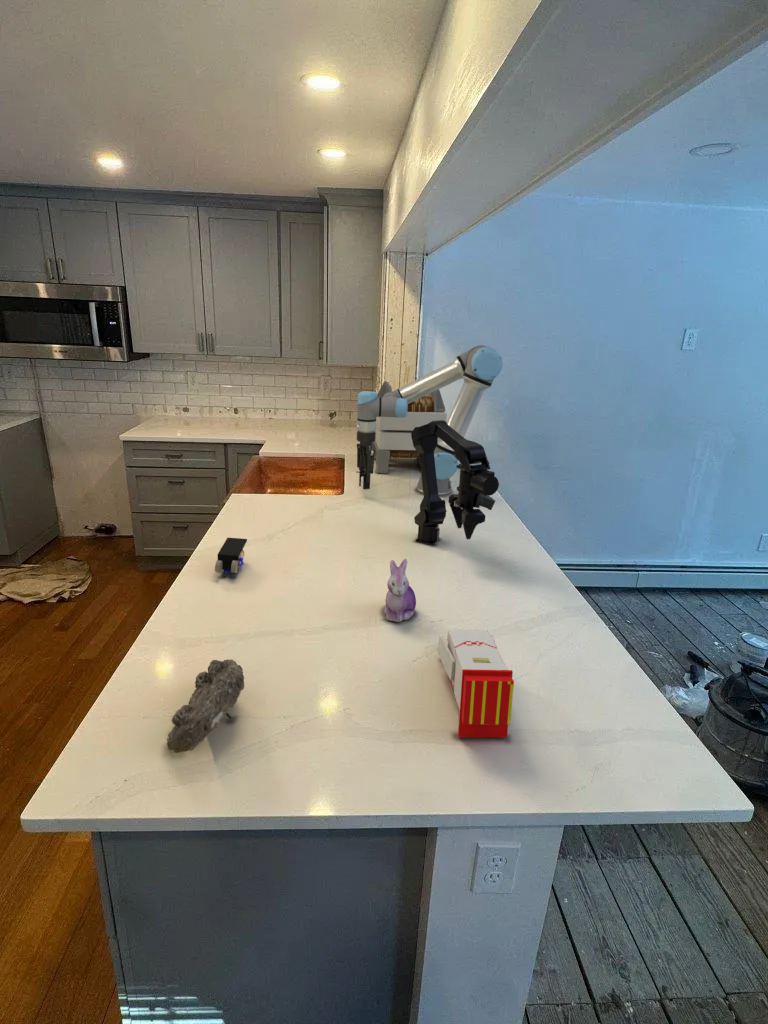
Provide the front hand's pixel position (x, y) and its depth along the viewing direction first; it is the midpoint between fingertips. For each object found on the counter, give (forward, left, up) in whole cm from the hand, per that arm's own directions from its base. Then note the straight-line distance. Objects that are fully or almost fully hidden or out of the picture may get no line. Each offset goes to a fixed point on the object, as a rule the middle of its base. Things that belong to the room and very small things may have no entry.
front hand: (463, 533), depth 177 cm
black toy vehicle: (-58, -39, -10) cm, 71 cm away
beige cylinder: (-54, +40, -5) cm, 67 cm away
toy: (+21, -62, -10) cm, 66 cm away
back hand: (-54, +40, -5) cm, 67 cm away
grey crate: (-59, +99, -10) cm, 116 cm away
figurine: (-5, -40, -10) cm, 41 cm away
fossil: (-21, -92, -10) cm, 95 cm away
